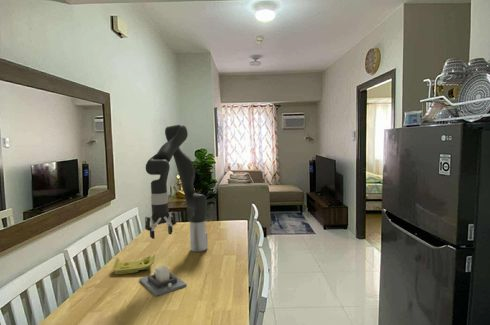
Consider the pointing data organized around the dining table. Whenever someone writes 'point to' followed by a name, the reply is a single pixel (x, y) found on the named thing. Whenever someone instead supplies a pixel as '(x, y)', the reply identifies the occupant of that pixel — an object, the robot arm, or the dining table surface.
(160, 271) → the block
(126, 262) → the plastic component
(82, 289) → the dining table surface
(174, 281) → the housing plate
